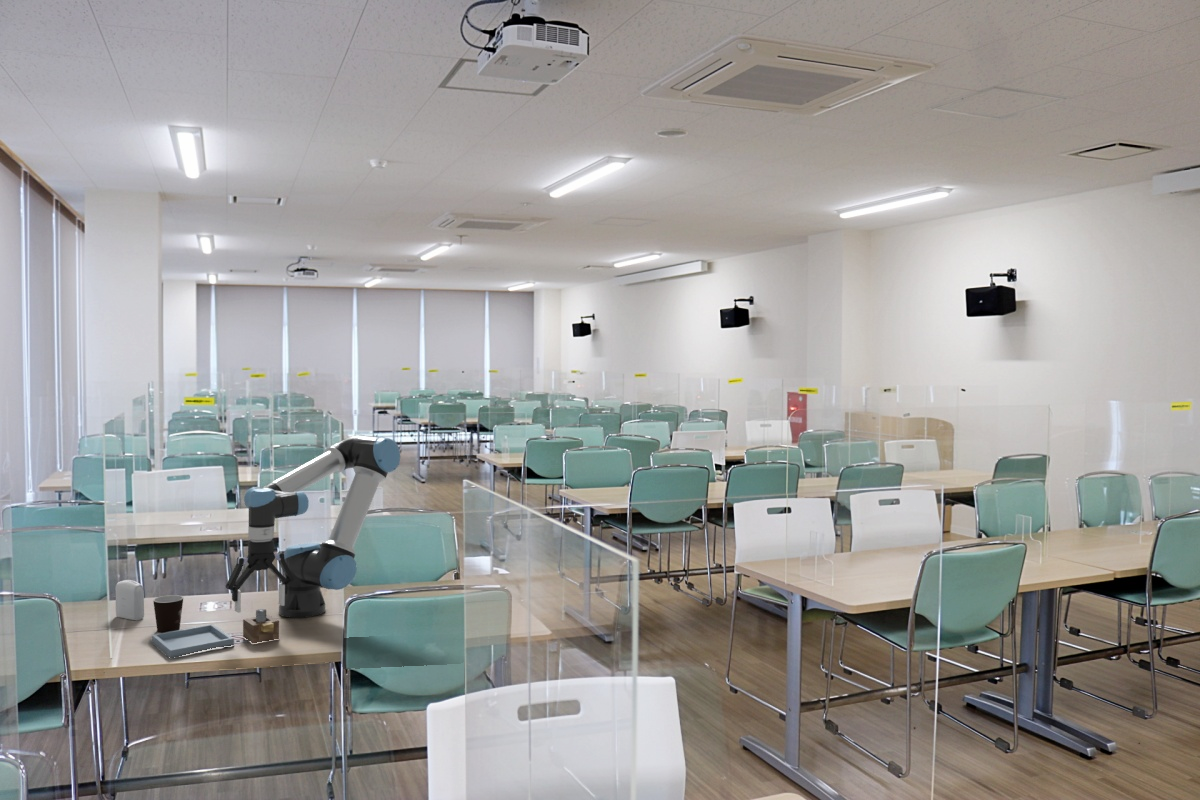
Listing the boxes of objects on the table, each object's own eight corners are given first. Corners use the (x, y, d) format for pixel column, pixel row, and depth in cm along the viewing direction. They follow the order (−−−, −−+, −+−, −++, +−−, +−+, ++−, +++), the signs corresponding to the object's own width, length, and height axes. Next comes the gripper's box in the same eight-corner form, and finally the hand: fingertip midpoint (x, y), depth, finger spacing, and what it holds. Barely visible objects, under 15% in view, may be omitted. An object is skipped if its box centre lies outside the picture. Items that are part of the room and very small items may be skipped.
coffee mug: (171, 635, 285) (171, 603, 284) (147, 632, 287) (147, 601, 286) (195, 624, 296) (195, 593, 296) (171, 622, 298) (171, 591, 298)
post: (263, 637, 286) (264, 608, 285) (267, 639, 283) (267, 610, 283) (254, 638, 284) (254, 610, 283) (258, 641, 281) (258, 612, 281)
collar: (268, 633, 289) (268, 614, 289) (281, 641, 282) (281, 622, 281) (243, 638, 284) (243, 619, 283) (255, 646, 276) (255, 627, 276)
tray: (212, 631, 289) (212, 623, 289) (233, 646, 276) (233, 638, 276) (151, 643, 277) (151, 634, 277) (170, 659, 264) (170, 650, 264)
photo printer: (113, 617, 302) (113, 579, 301) (125, 613, 306) (125, 577, 305) (134, 621, 298) (134, 584, 297) (146, 618, 301) (146, 581, 301)
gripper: (224, 546, 270) (222, 617, 271) (305, 537, 287) (304, 604, 288) (215, 541, 276) (214, 611, 277) (295, 533, 293) (294, 599, 294)
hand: (259, 608), depth 282 cm, fingers open, 13 cm apart
